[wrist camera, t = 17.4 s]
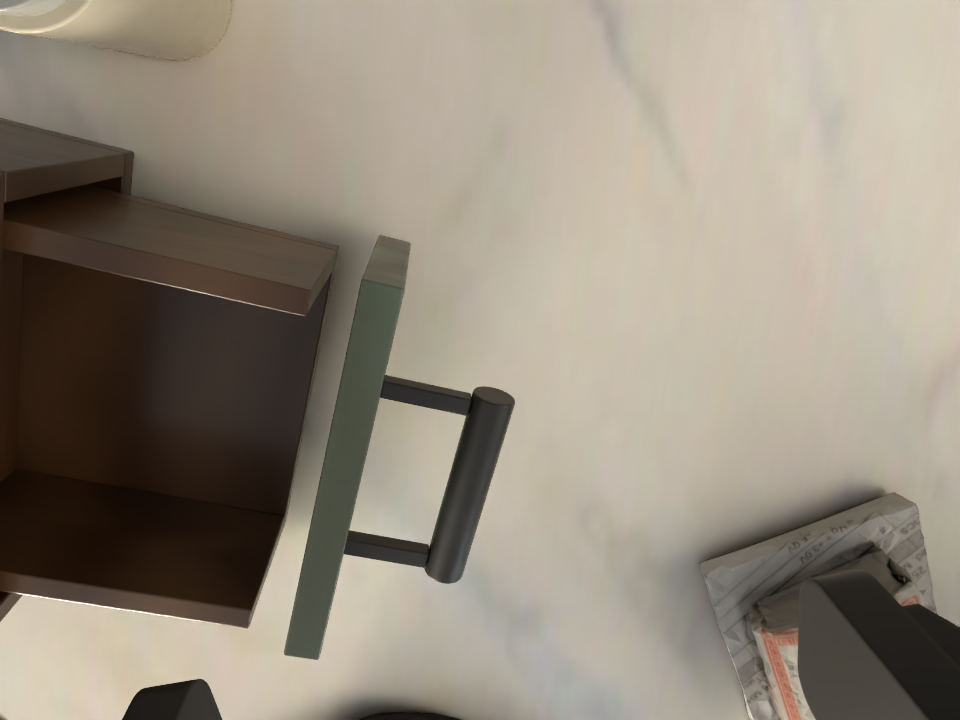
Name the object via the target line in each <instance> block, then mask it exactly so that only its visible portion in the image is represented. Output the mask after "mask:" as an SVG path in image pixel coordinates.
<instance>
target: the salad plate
mask: <svg viewBox="0 0 960 720" xmlns="http://www.w3.org/2000/svg"><path fill="white" fill-rule="evenodd" d="M360 720H460V719H456V718H452V717H448V716H443V715H437V714H430V713H416V712H397V713H382V714H376V715H373V716H369V717H366V718H363V719H360Z"/></svg>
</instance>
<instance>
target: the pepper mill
mask: <svg viewBox="0 0 960 720" xmlns="http://www.w3.org/2000/svg"><path fill="white" fill-rule="evenodd" d="M230 15H231V0H0V30H5V31H9V32H14V33H19V34H25V35H31V36H36V37H42V38H47V39H53V40H59V41H64V42H70V43H76V44H81V45H87V46H93V47H98V48H104V49H109V50H115V51H121V52H126V53H132V54H138V55H143V56H149V57H155V58H160V59H166V60H173V61H186V60H191V59H195V58H197V57H200V56H202V55H204V54H206V53H207V52H209V51H210V50H211V49H213V48H214V47H215V46H216V45H217V44H218V42H219V41H220V40H221V38H222V37H223V35H224V33H225V31H226V29H227V26H228V24H229V20H230Z"/></svg>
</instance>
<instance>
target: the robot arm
mask: <svg viewBox="0 0 960 720" xmlns="http://www.w3.org/2000/svg"><path fill="white" fill-rule="evenodd" d="M797 664H798V674H799V680H800V684H801V687H802V690H803V694H804V696H805V699H806V701H807V704H808V706H809V708H810V710H811V712H812V714H813V716H814V717H815V719H816V720H960V627H958V626H956V625H954V624H953V623H951V622H949V621H948V620H946V619H944V618H942V617H941V616H939V615H937V614H936V613H934V612H932V611H930V610H929V609H927V608H925V607H924V606H922V605H920V604H913V605H907V606H901V605H900V604H899V603H898V602H897V600H896V599H895V598H894V597H893V596H892V595H891V594H890V593H889V592H888V591H887V590H886V589H885V588H884V587H883V586H882V585H881V584H880V583H879V581H878V580H877V579H876V578H875V577H873V576H872V575H871V574H870V573H868V572H867V571H864V570H855V571H849V572H843V573H837V574H832V575H826V576H820V577H814V578H808V579H805V580H804V581H803V582H802V584H801V587H800V598H799V630H798V661H797ZM122 720H222V718H221V715H220V713H219V710H218V707H217V705H216V702H215V700H214V697H213V694H212V692H211V689H210V687H209V685H208V684H207V682H205V681H204V680H202V679H196V680H190V681H184V682H178V683H172V684H166V685H160V686H154V687H148V688H144V689H142V690H140V691H139V692H138V693H137V694H136V695H135V696H134V698H133V700H132V701H131V703H130V705H129V707H128V709H127V711H126V713H125V715H124V717H123V719H122Z"/></svg>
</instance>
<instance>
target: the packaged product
mask: <svg viewBox="0 0 960 720" xmlns="http://www.w3.org/2000/svg"><path fill="white" fill-rule="evenodd" d="M699 564H700V567H701V571H702V574H703V577H704V580H705V584H706V587H707V590H708V593H709V597H710V600H711V603H712V606H713V609H714V613H715V616H716V619H717V622H718V626H719V629H720V632H721V634H722V637H723V639H724V642H725V644H726V646H727V649H728V651H729V654H730V656H731V659H732V662H733V665H734V667H735V670H736V673H737V676H738V678H739V681H740V684H741V687H742V689H743V694H744V698H745V703H746V707H747V712H748V715H749V717H750V719H751V720H816V719H815V717H814V716H813V714H812V712H811V710H810V708H809V706H808V704H807V701H806V699H805V696H804V694H803V690H802V687H801V684H800V680H799V674H798V664H797V661H798V630H799V598H800V587H801V584H802V582H803V581H804V580H805V579H808V578H814V577H820V576H826V575H832V574H837V573H843V572H849V571H855V570H864V571H867V572H868V573H870V574H871V575H872V576H873V577H875V578H876V579H877V580H878V581H879V583H880V584H881V585H882V586H883V587H884V588H885V589H886V590H887V591H888V592H889V593H890V594H891V595H892V596H893V597H894V598H895V599H896V600H897V602H898V603H899V604H900V605H901V606H907V605H913V604H920V605H922V606H924V607H925V608H927V609H929V610H930V611H932V612H934V613H936V614H937V612H936V607H935V604H934V601H933V594H932V583H931V577H930V571H929V567H928V562H927V554H926V550H925V546H924V537H923V535H922V532H921V526H920V521H919V510H918V507H917V505H916V504H915V503H913V502H911V501H909V500H907V499H906V498H904V497H902V496H900V495H898V494H896V493H894V492H893V493H890V494H888V495H885V496H883V497H880V498H877V499H875V500H872V501H870V502H867V503H864V504H862V505H859V506H857V507H854V508H851V509H849V510H846V511H844V512H841V513H838V514H836V515H833V516H831V517H828V518H826V519H823V520H820V521H817V522H815V523H812V524H809V525H807V526H804V527H801V528H798V529H796V530H793V531H790V532H788V533H785V534H782V535H780V536H777V537H774V538H771V539H769V540H766V541H763V542H761V543H758V544H755V545H752V546H750V547H747V548H744V549H741V550H738V551H735V552H732V553H729V554H726V555H723V556H720V557H717V558H714V559H711V560H708V561H704V562H701V563H699Z"/></svg>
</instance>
